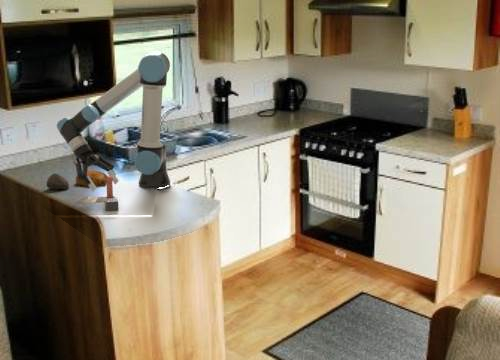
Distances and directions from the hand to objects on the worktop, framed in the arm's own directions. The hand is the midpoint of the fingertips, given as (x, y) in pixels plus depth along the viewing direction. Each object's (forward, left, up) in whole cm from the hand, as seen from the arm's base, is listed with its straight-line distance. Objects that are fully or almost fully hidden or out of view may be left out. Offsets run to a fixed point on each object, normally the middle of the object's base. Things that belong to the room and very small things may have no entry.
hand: (106, 186), depth 274 cm
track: (+4, 0, -7) cm, 8 cm away
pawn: (-2, 0, -6) cm, 6 cm away
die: (-4, +13, -7) cm, 16 cm away
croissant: (+11, -28, -7) cm, 31 cm away
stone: (+26, -20, -7) cm, 33 cm away
